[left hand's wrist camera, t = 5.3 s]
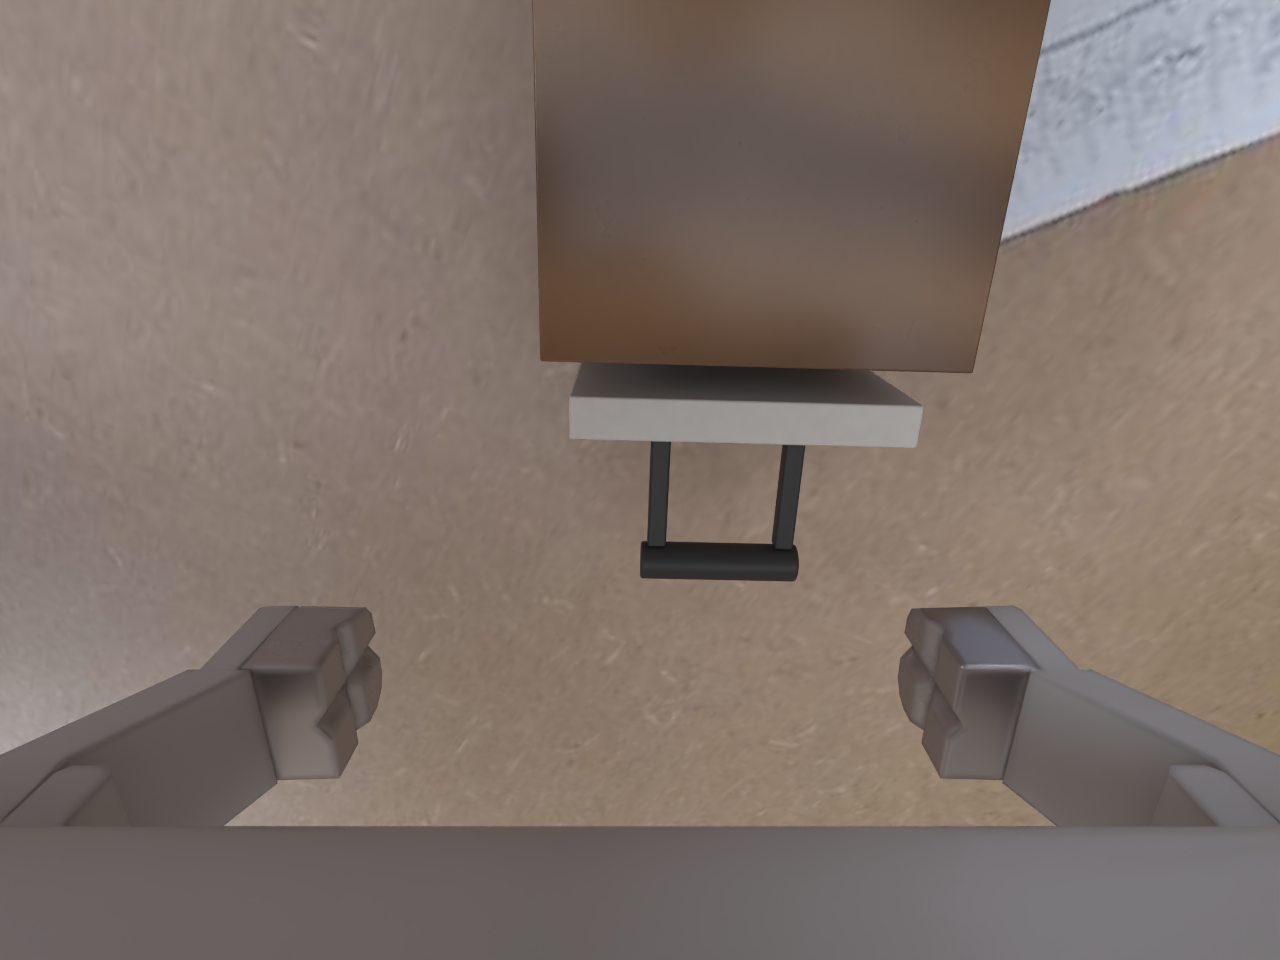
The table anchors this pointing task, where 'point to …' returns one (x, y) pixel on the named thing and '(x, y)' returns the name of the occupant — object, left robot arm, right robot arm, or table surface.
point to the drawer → (735, 441)
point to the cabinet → (775, 178)
